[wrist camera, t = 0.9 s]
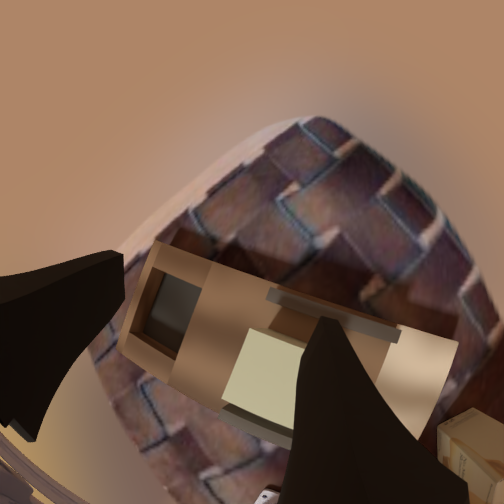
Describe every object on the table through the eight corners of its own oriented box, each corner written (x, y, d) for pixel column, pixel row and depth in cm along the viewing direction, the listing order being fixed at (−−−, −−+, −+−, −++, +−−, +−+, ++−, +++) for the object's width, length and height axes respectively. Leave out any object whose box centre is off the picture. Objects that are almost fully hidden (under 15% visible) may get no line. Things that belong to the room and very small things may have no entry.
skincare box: (435, 424, 16) (496, 480, 5) (473, 405, 15) (546, 440, 4) (437, 474, 14) (480, 538, 3) (473, 455, 13) (529, 504, 2)
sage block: (303, 407, 18) (294, 430, 14) (245, 384, 20) (221, 398, 15) (328, 350, 19) (327, 357, 14) (267, 328, 21) (249, 327, 16)
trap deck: (393, 460, 16) (402, 483, 12) (130, 348, 26) (102, 348, 22) (447, 341, 18) (469, 342, 14) (168, 246, 28) (143, 233, 24)
